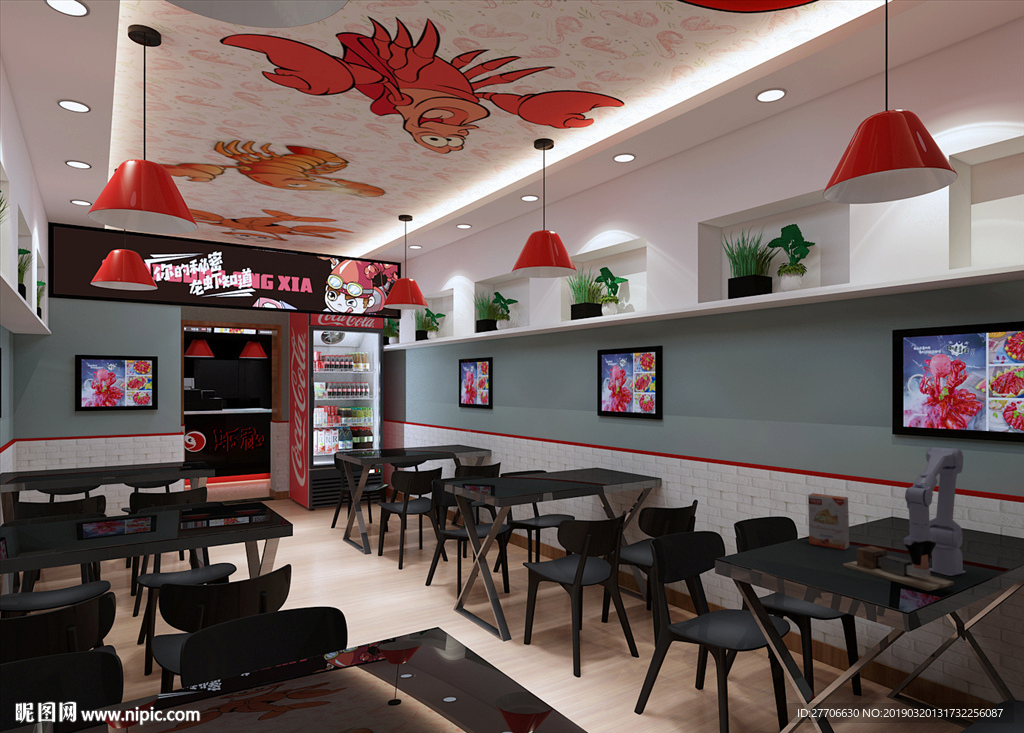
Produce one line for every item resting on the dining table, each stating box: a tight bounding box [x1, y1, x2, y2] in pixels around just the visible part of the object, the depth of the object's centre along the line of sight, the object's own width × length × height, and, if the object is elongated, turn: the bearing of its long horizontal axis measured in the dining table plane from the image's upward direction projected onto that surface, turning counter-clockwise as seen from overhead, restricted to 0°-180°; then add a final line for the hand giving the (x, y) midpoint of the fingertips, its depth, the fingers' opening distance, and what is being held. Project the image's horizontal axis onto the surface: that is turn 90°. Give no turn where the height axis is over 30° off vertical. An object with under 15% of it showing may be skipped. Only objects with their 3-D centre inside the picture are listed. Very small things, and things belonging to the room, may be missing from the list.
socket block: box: [856, 545, 888, 569], centre depth 219 cm, size 8×6×6 cm
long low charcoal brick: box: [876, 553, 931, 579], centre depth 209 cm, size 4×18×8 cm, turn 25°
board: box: [842, 560, 955, 592], centre depth 211 cm, size 14×30×1 cm, turn 25°
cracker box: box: [807, 492, 850, 551], centre depth 250 cm, size 14×6×21 cm, turn 45°
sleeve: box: [881, 554, 913, 577], centre depth 211 cm, size 5×8×5 cm, turn 25°
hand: (920, 563), depth 203 cm, fingers closed on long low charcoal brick, 4 cm apart
